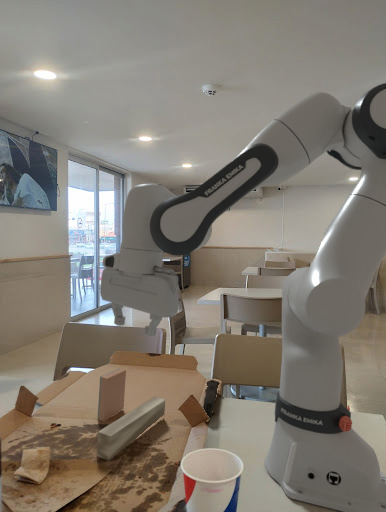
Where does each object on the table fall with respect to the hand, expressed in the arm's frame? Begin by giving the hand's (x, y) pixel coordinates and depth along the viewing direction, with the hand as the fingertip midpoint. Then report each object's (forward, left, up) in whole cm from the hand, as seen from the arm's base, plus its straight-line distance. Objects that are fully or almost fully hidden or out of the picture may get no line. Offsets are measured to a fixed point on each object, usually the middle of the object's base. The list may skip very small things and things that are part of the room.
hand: (134, 329), depth 77 cm
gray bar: (0, -2, -24) cm, 24 cm away
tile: (+10, -7, -23) cm, 26 cm away
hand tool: (-8, -26, -24) cm, 36 cm away
